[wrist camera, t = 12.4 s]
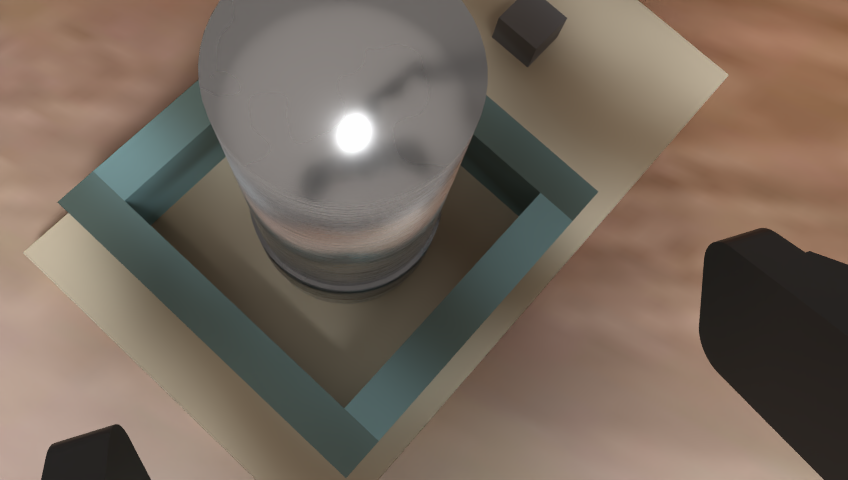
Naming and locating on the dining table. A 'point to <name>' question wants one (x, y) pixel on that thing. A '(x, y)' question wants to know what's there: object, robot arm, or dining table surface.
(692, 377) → the dining table surface
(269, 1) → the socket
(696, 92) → the beige board with frame
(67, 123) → the dining table surface
